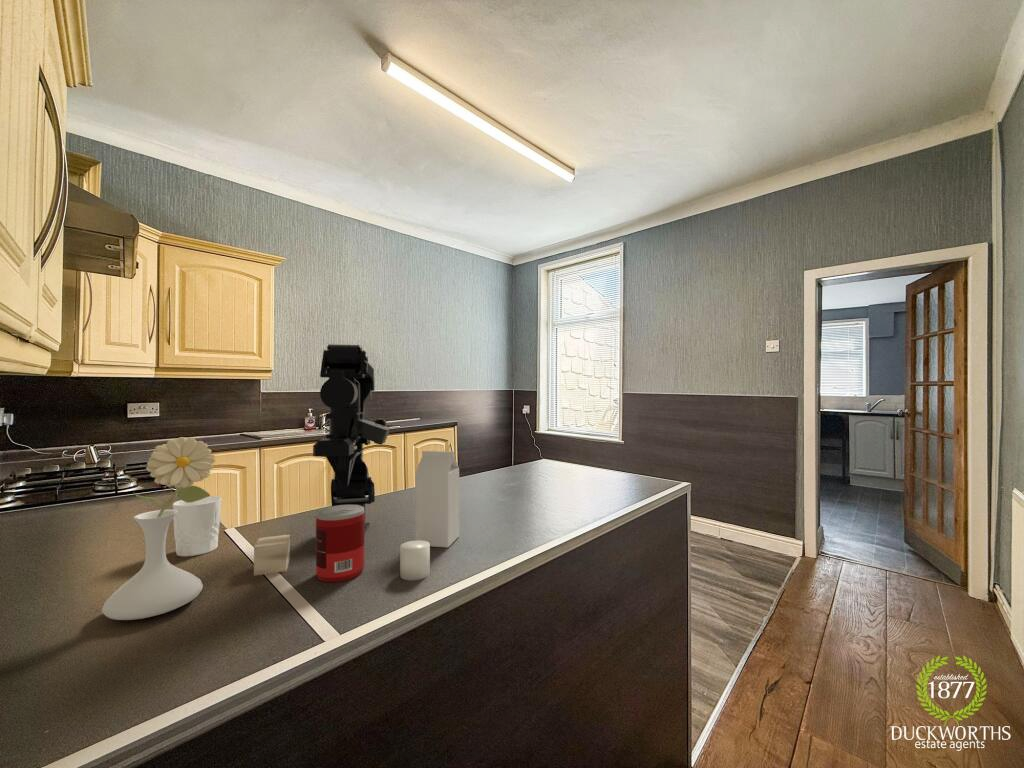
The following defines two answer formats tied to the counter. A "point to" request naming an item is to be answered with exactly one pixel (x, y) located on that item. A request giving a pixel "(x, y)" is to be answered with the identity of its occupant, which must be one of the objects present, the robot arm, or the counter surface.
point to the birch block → (271, 554)
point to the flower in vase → (163, 536)
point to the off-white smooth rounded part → (414, 560)
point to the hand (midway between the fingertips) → (344, 486)
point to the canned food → (340, 542)
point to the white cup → (197, 526)
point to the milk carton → (437, 498)
